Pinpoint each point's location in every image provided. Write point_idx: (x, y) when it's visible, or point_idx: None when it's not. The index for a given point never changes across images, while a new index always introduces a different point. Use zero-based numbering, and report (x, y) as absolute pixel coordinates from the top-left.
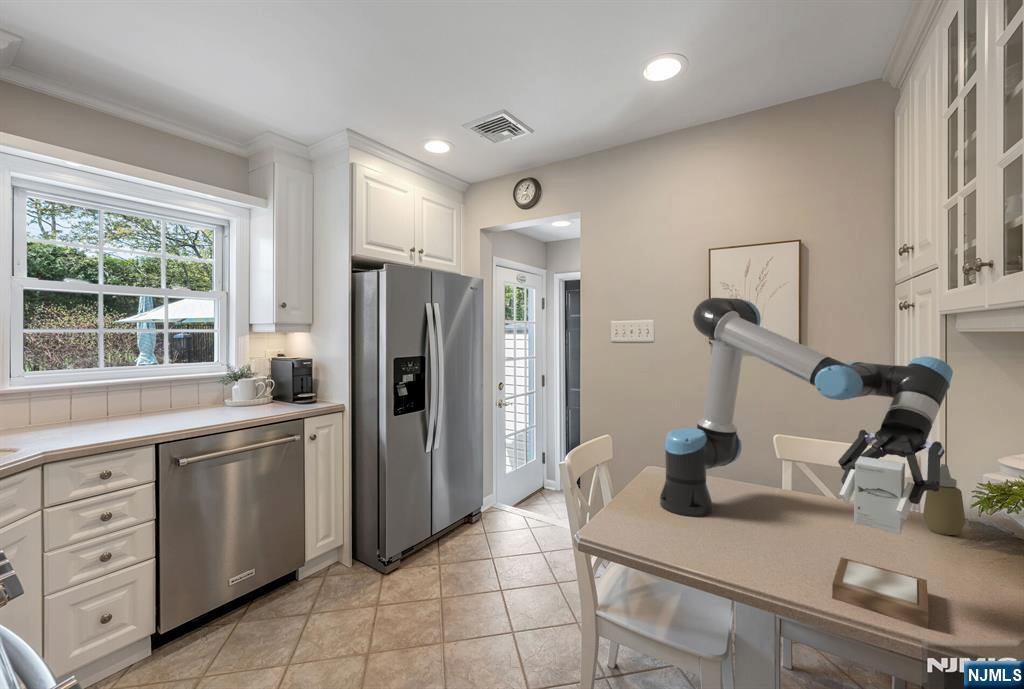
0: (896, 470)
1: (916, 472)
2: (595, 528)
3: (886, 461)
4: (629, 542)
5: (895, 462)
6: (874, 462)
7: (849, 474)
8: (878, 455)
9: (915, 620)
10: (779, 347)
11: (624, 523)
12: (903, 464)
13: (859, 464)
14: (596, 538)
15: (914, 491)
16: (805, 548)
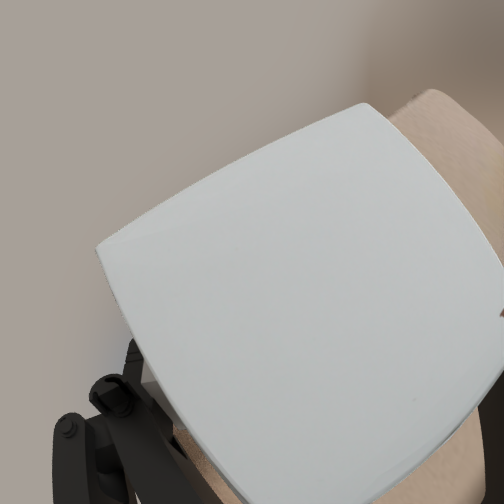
0: (125, 229)
1: (143, 470)
2: (457, 106)
3: (373, 415)
4: (434, 114)
5: (318, 480)
6: (361, 234)
7: None
8: (498, 479)
9: None
10: None
11: (478, 139)
12: (244, 497)
13: (343, 110)
14: (435, 94)
15: (142, 365)
16: None
